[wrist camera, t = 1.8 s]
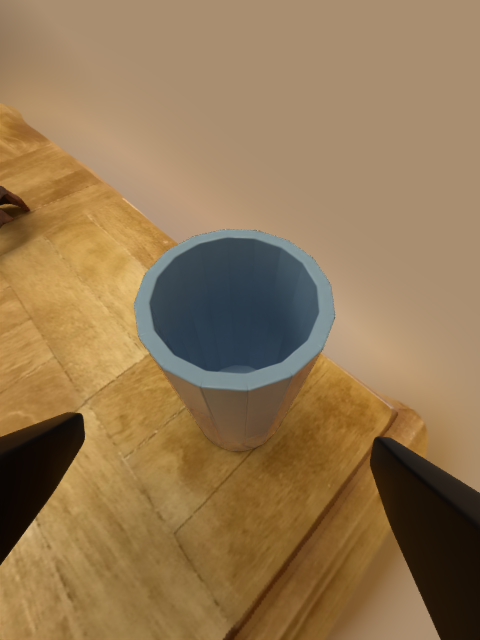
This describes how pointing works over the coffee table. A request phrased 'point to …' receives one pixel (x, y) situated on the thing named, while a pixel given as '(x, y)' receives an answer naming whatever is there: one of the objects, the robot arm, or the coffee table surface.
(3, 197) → the brown hollow shell
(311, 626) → the coffee table surface
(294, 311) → the tall blue mug
